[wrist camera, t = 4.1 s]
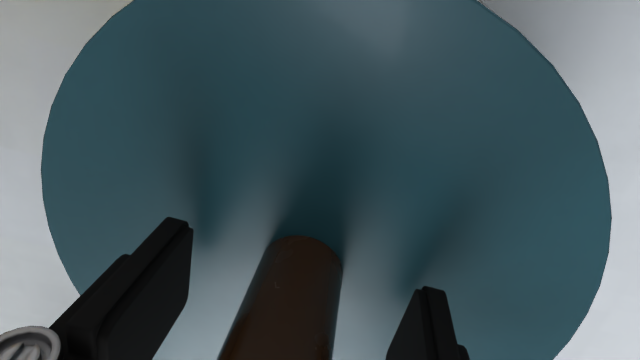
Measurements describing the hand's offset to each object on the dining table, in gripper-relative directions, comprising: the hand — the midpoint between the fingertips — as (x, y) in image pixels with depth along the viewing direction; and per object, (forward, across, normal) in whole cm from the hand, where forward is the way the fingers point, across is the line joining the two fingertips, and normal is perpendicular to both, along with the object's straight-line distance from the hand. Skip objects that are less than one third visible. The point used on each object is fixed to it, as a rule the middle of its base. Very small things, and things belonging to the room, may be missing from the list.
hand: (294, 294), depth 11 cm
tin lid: (+2, 0, 0) cm, 2 cm away
